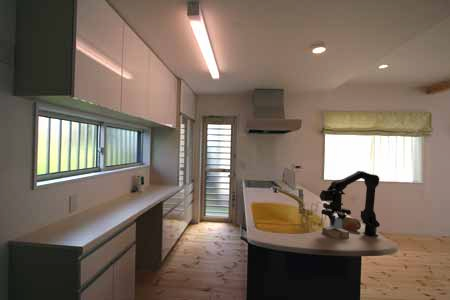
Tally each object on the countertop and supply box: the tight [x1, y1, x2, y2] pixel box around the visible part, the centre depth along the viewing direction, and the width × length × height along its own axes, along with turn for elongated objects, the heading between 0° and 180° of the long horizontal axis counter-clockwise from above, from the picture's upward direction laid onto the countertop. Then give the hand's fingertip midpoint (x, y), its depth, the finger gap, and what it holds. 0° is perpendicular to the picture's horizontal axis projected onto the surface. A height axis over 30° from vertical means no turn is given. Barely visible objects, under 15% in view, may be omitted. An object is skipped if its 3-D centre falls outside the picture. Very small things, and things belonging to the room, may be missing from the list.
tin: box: [341, 216, 362, 232], centre depth 164 cm, size 15×3×8 cm, turn 45°
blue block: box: [329, 216, 343, 229], centre depth 150 cm, size 5×5×6 cm
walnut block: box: [321, 226, 350, 240], centre depth 151 cm, size 11×11×4 cm
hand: (335, 225), depth 151 cm, fingers closed on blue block, 5 cm apart
